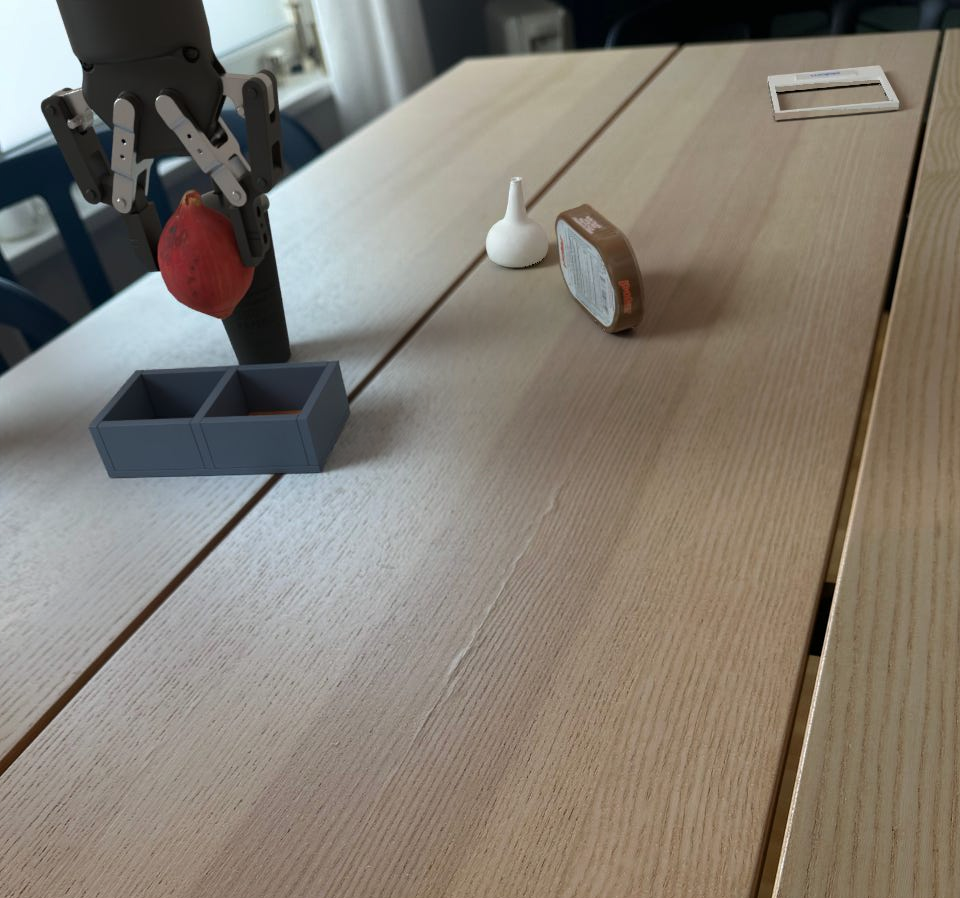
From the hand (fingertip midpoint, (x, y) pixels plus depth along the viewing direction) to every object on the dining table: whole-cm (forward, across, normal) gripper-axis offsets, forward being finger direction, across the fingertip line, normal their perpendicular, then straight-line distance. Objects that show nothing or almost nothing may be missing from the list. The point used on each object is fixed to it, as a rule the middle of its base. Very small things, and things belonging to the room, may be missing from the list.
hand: (206, 264), depth 64 cm
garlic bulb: (+17, -12, -42) cm, 47 cm away
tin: (+17, -22, -28) cm, 40 cm away
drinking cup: (+17, +8, -22) cm, 29 cm away
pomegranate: (+4, 0, 0) cm, 4 cm away
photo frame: (+16, -46, -92) cm, 104 cm away
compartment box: (+17, +6, -7) cm, 19 cm away
